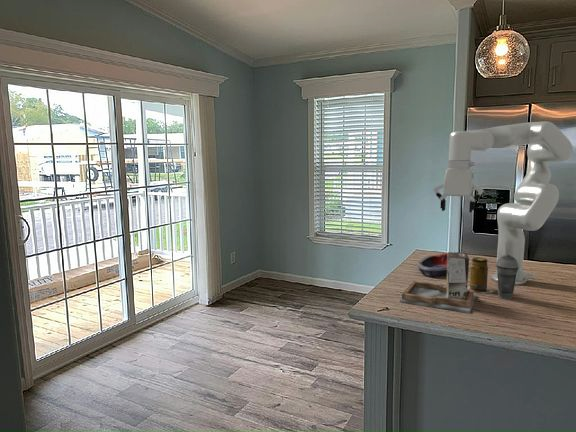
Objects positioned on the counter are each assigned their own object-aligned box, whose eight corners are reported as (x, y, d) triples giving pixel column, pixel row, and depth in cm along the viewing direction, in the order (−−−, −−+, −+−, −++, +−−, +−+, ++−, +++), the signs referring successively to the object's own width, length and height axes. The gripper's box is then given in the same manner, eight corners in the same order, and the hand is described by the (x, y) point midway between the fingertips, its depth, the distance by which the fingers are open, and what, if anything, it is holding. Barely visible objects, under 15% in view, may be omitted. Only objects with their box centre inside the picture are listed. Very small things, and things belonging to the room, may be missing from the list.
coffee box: (467, 304, 147) (469, 258, 145) (447, 302, 149) (449, 257, 147) (464, 295, 156) (466, 252, 153) (445, 294, 158) (447, 251, 155)
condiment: (477, 285, 170) (478, 255, 168) (495, 291, 163) (497, 260, 161) (463, 288, 167) (465, 258, 165) (482, 294, 160) (484, 263, 158)
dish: (408, 274, 186) (408, 263, 186) (433, 260, 210) (434, 250, 209) (444, 281, 177) (444, 269, 176) (466, 265, 201) (467, 254, 200)
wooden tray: (476, 296, 158) (476, 288, 157) (469, 313, 141) (469, 305, 141) (412, 286, 169) (413, 280, 169) (399, 301, 153) (399, 294, 152)
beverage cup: (507, 302, 151) (511, 246, 148) (489, 295, 158) (492, 242, 155) (520, 298, 155) (525, 244, 152) (502, 292, 161) (506, 240, 158)
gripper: (485, 165, 158) (483, 211, 160) (436, 164, 166) (435, 208, 169) (483, 165, 151) (481, 214, 154) (432, 165, 160) (431, 211, 162)
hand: (456, 211), depth 161 cm, fingers open, 9 cm apart
